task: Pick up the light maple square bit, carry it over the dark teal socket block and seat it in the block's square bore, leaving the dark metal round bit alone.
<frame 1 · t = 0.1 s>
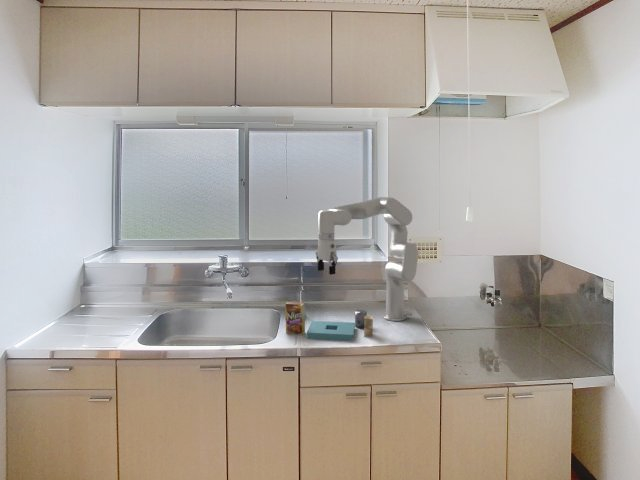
hand: (326, 272, 181), 31 cm above the worktop, tool pointing down, fingers open, 9 cm apart
square bit: (368, 335, 185), on the worktop
round bit: (360, 326, 196), on the worktop
candy box: (295, 333, 188), on the worktop
socket block: (331, 333, 187), on the worktop
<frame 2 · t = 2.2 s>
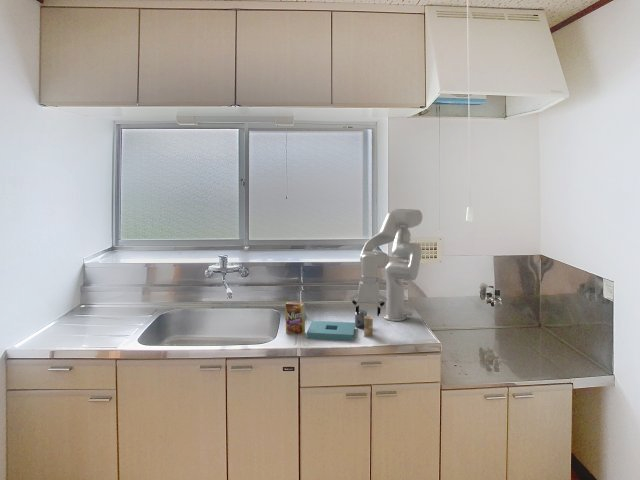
hand: (367, 314, 183), 11 cm above the worktop, tool pointing down, fingers open, 9 cm apart
nothing on the worktop moved.
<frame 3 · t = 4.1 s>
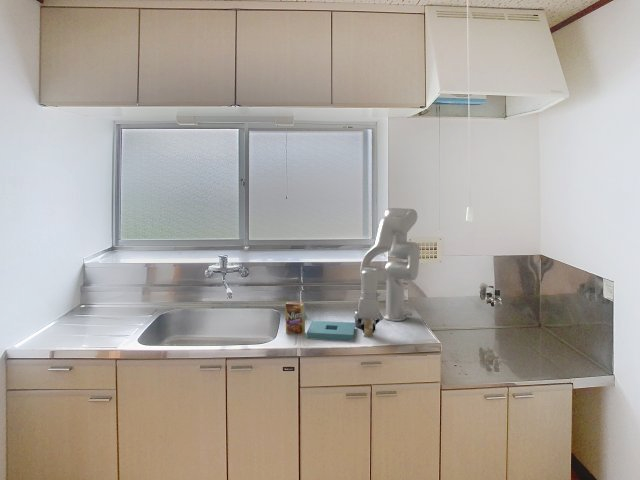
hand: (368, 331, 184), 2 cm above the worktop, tool pointing down, fingers closed on square bit, 4 cm apart
square bit: (368, 335, 185), on the worktop, touching gripper
everything else where it was.
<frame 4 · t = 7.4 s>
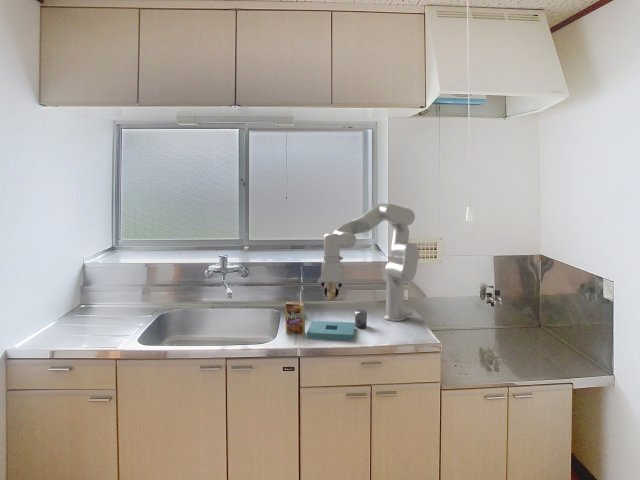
hand: (331, 295, 184), 19 cm above the worktop, tool pointing down, fingers closed on square bit, 4 cm apart
square bit: (331, 299, 185), point 17 cm above the worktop, touching gripper
everything else where it was.
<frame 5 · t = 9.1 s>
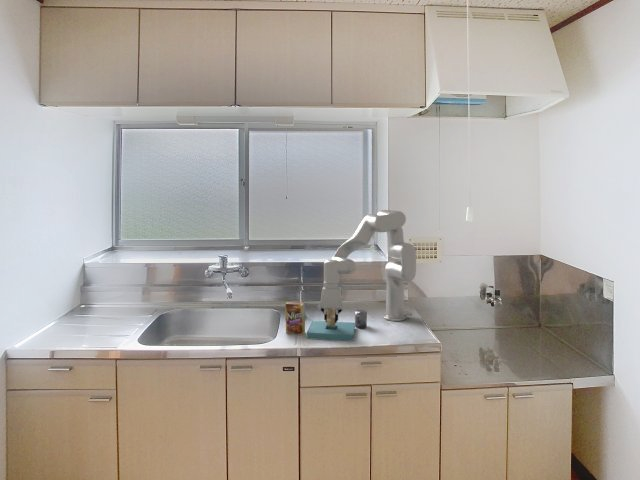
hand: (331, 321, 186), 6 cm above the worktop, tool pointing down, fingers closed on square bit, 4 cm apart
square bit: (331, 324, 186), point 4 cm above the worktop, touching gripper
everything else where it was.
when the fingers open (3 cm above the worktop, at t = 10.7 s): square bit drops 1 cm, resting in socket block.
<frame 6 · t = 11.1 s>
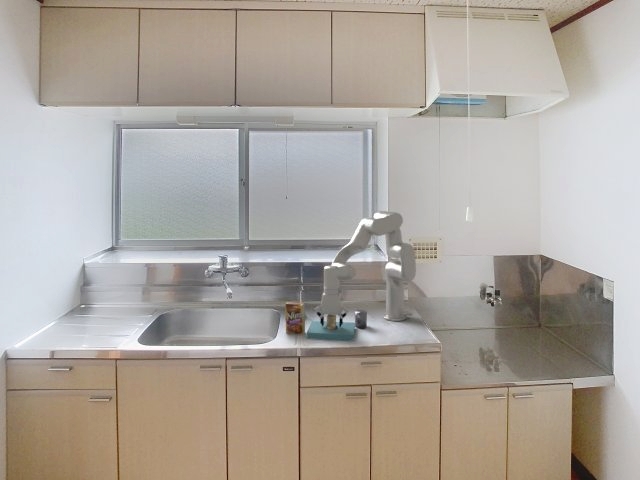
hand: (331, 325, 187), 4 cm above the worktop, tool pointing down, fingers open, 8 cm apart
square bit: (331, 333, 187), resting in socket block
everything else where it was.
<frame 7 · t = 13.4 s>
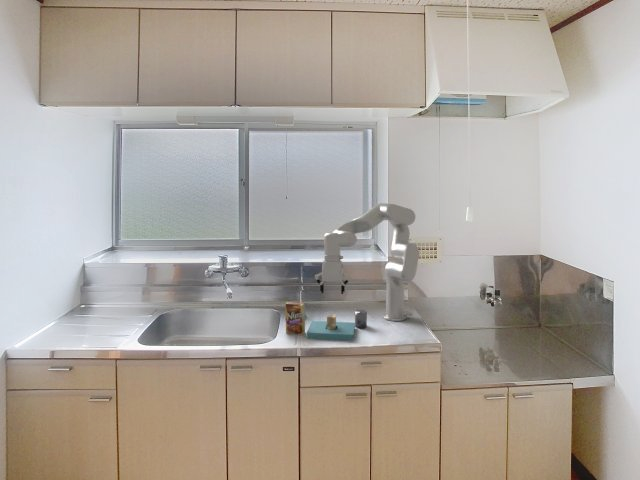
hand: (332, 292, 185), 20 cm above the worktop, tool pointing down, fingers open, 9 cm apart
nothing on the worktop moved.
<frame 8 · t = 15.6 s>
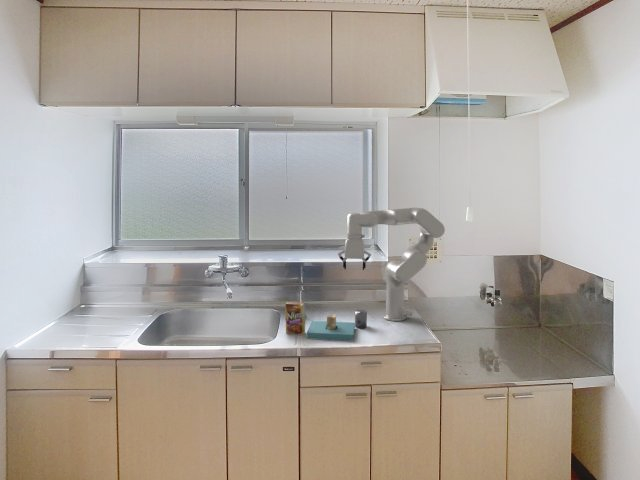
hand: (354, 269, 200), 28 cm above the worktop, tool pointing down, fingers open, 9 cm apart
nothing on the worktop moved.
at the end: square bit 0.1 cm off-centre on the socket block, point 0.0 cm above the socket block's base; square bit tilted 0°; the gripper is holding nothing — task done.
